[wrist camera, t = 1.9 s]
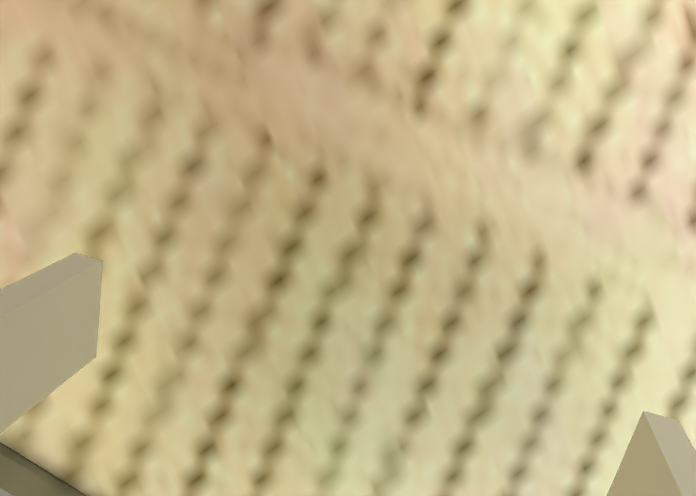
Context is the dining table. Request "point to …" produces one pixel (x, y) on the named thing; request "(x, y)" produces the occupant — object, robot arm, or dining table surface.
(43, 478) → the tray
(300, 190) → the dining table surface
